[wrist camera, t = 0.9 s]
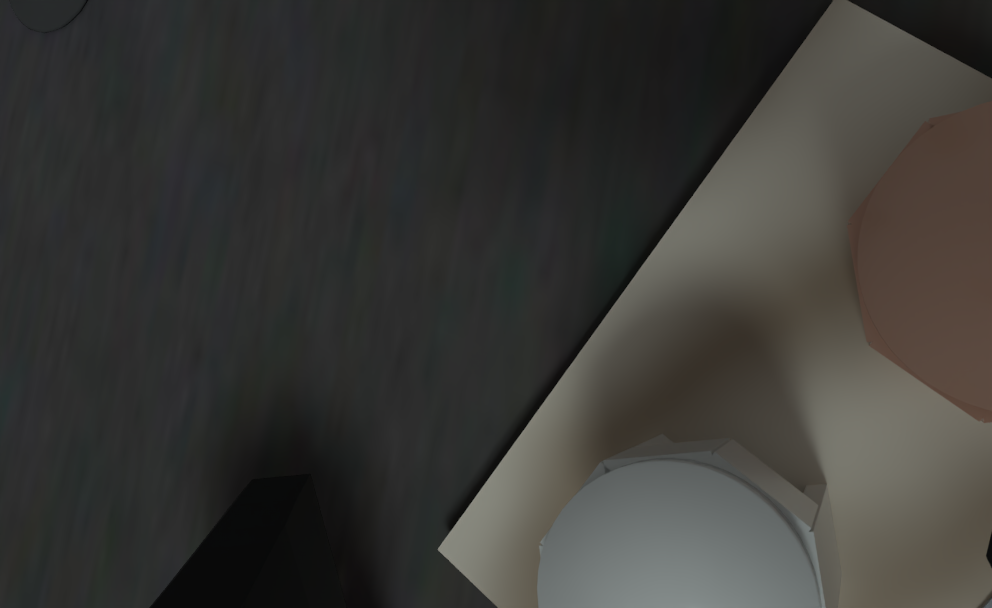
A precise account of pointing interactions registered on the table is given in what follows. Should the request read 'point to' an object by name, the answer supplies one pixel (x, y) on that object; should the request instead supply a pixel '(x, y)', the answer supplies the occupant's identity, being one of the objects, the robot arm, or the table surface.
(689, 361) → the board
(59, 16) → the sundae
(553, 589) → the white round stool
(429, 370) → the table surface
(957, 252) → the pink stool
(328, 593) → the robot arm
